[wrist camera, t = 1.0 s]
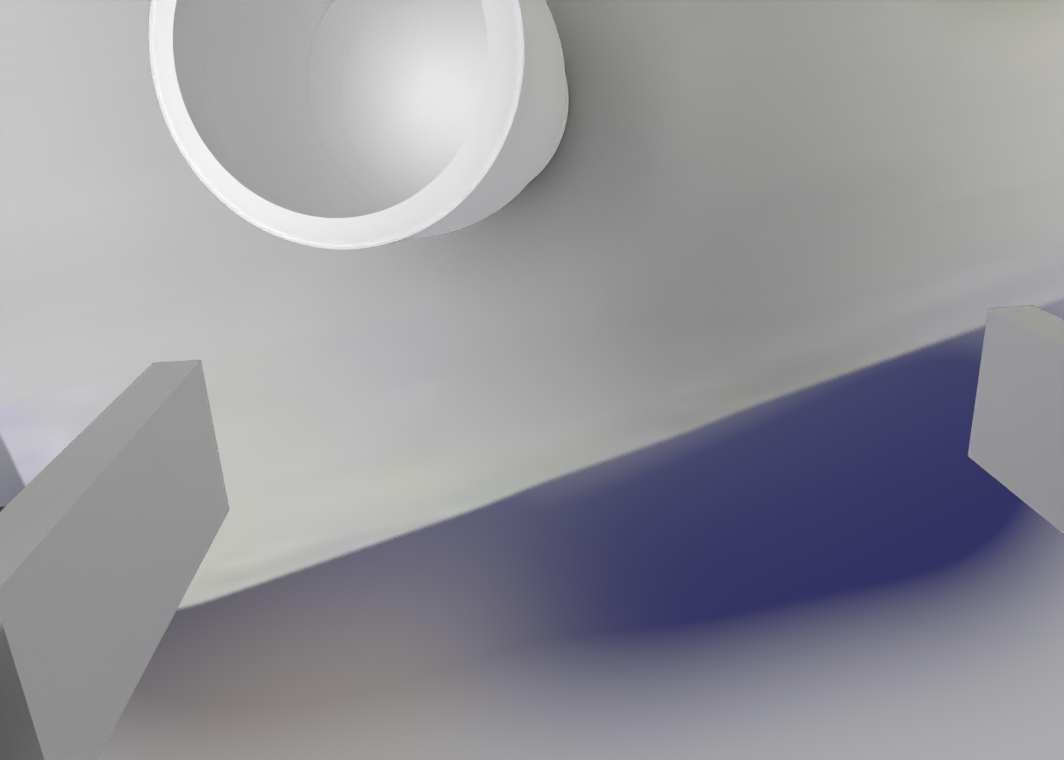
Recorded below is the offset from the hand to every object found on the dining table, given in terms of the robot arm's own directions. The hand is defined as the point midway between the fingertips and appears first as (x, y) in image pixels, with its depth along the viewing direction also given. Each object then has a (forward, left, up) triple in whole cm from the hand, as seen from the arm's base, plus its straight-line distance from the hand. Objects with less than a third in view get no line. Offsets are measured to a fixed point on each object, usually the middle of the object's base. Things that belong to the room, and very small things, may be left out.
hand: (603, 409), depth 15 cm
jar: (-8, -8, -24) cm, 26 cm away
